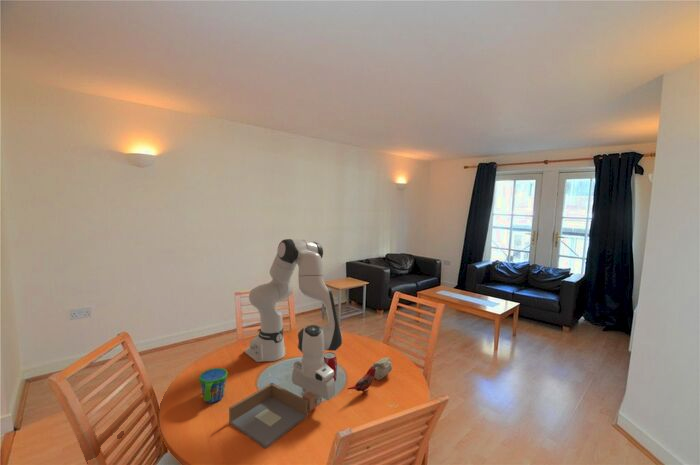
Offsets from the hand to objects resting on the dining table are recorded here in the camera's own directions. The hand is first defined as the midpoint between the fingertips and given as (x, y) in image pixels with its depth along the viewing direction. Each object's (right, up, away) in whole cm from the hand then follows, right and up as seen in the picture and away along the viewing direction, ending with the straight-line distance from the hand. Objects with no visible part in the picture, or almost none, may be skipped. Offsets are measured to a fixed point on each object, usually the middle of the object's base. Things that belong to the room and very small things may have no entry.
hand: (312, 400), depth 126 cm
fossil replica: (+30, -1, +23) cm, 38 cm away
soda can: (+5, -1, +18) cm, 19 cm away
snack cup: (-41, -1, +3) cm, 41 cm away
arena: (-15, -2, -9) cm, 18 cm away
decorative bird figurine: (+20, -2, +8) cm, 22 cm away
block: (0, -2, 0) cm, 2 cm away
